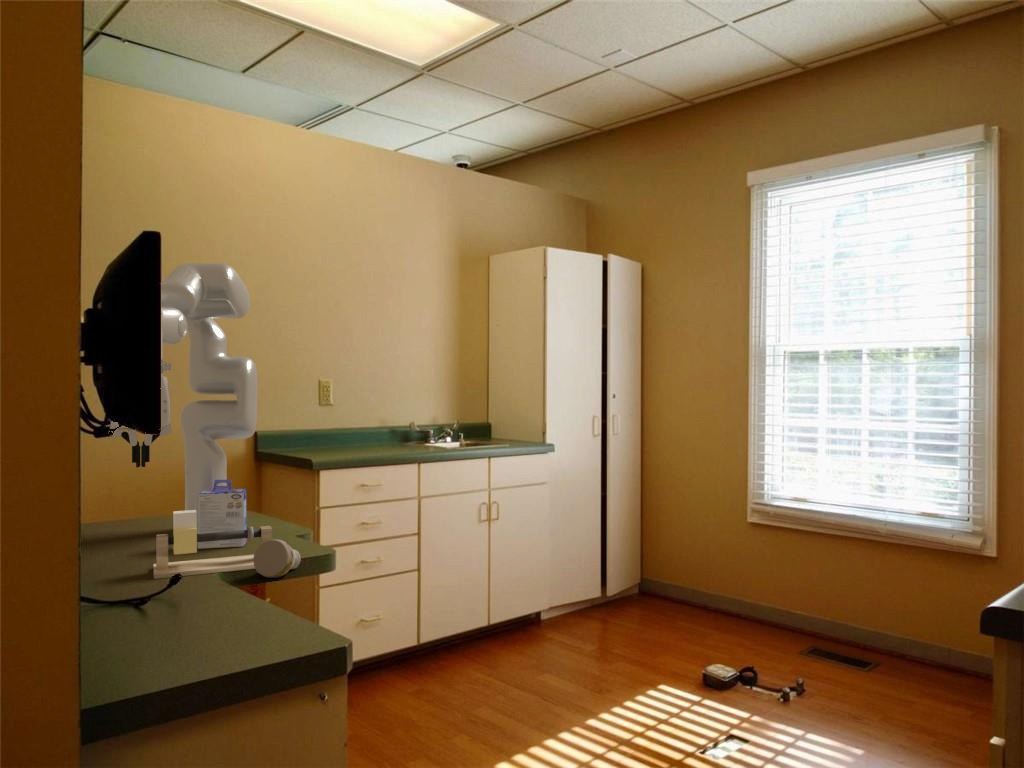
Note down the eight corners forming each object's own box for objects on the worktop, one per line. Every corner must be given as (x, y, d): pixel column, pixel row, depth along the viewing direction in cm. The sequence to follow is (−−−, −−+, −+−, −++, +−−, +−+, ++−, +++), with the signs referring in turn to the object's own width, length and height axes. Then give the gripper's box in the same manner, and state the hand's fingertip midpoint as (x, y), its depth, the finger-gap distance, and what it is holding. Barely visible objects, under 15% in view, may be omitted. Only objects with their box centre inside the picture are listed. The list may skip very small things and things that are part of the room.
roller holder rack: (153, 568, 150) (153, 530, 150) (270, 556, 159) (270, 521, 159) (153, 579, 142) (153, 539, 142) (277, 566, 151) (276, 528, 151)
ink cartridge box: (247, 542, 174) (246, 478, 174) (245, 547, 168) (245, 481, 168) (200, 544, 171) (200, 479, 171) (197, 549, 166) (196, 482, 166)
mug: (311, 568, 151) (309, 529, 146) (281, 601, 143) (278, 562, 138) (279, 556, 153) (275, 517, 148) (248, 589, 145) (243, 549, 140)
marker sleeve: (173, 549, 149) (173, 510, 149) (195, 547, 151) (195, 509, 151) (174, 554, 145) (173, 514, 145) (196, 552, 147) (196, 512, 147)
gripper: (183, 369, 151) (183, 463, 151) (96, 369, 145) (96, 466, 145) (184, 369, 144) (184, 466, 144) (94, 368, 138) (94, 470, 138)
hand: (140, 466), depth 144 cm, fingers closed
